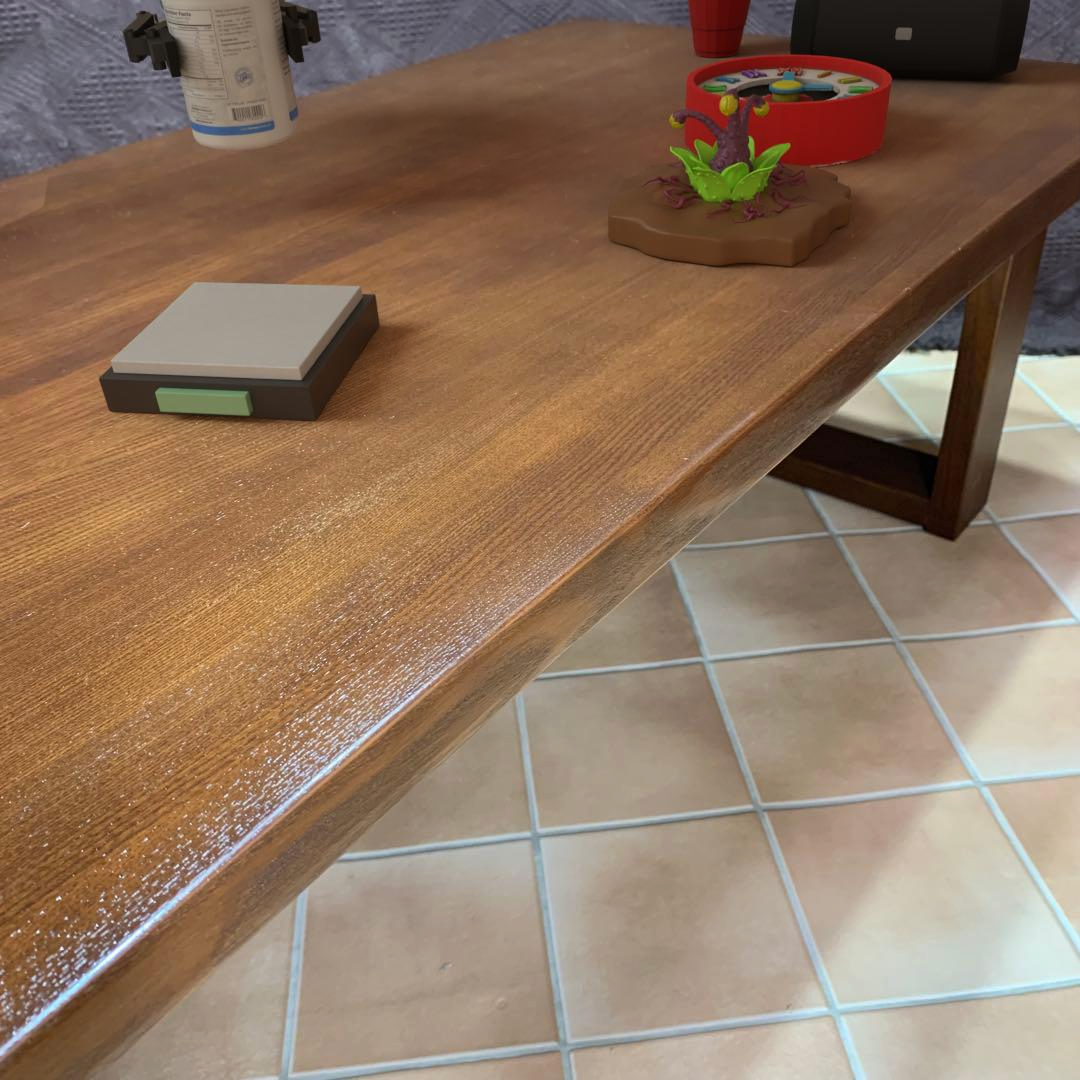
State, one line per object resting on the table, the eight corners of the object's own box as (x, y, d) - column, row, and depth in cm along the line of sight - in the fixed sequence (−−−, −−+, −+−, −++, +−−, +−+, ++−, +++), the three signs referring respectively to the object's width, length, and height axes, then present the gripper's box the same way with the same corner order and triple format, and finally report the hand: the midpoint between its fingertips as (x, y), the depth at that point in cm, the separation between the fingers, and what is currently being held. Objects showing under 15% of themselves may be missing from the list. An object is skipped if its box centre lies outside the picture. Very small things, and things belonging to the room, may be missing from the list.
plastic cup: (738, 65, 137) (744, -41, 130) (662, 58, 142) (664, -45, 135) (772, 47, 144) (780, -54, 137) (699, 41, 149) (703, -57, 142)
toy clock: (674, 103, 101) (697, 54, 117) (672, 166, 105) (695, 110, 120) (895, 105, 97) (889, 54, 113) (886, 170, 101) (881, 112, 116)
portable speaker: (785, 81, 129) (793, -11, 123) (798, 62, 136) (806, -26, 131) (1013, 89, 121) (1033, -9, 116) (1014, 69, 129) (1032, -25, 123)
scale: (104, 416, 69) (89, 369, 67) (200, 319, 80) (189, 277, 78) (312, 426, 66) (303, 378, 65) (380, 325, 78) (373, 281, 76)
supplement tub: (241, 120, 103) (207, -55, 94) (322, 128, 99) (295, -53, 90) (171, 148, 96) (127, -38, 87) (255, 158, 92) (218, -35, 83)
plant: (575, 253, 88) (571, 109, 81) (646, 178, 102) (647, 51, 95) (824, 278, 81) (842, 124, 74) (862, 195, 96) (880, 60, 89)
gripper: (78, -22, 101) (83, 17, 84) (311, -44, 107) (360, -12, 90) (100, 63, 106) (109, 117, 89) (323, 38, 112) (372, 83, 94)
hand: (236, 52), depth 89 cm, fingers closed on supplement tub, 9 cm apart
